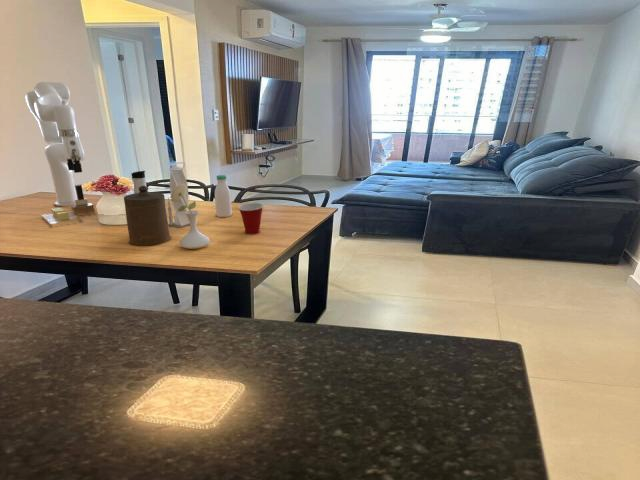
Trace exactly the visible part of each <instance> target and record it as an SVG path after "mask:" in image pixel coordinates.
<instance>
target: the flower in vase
mask: <svg viewBox="0 0 640 480" xmlns="http://www.w3.org/2000/svg"><path fill="white" fill-rule="evenodd" d="M187 186H188V185H187ZM187 186H186V185H185V186H184V184H181V186H180V185H178V186H177V187H176V189H175V190H173V194H172V195H171V194H170V197H169V199H170V201H171V202H172V201H175V202H176V201H178V200H180V199H181V198H183V199H184V197H183V196H184V195H185V193H186V190H187ZM171 198H172V199H171ZM184 201H185V199H184ZM185 204H186V201H185ZM186 207H187V211H186V212H185V214H186V215H187V216H188V218H189V221H190V225H189V232H187V233H186V234H185V235H184V236H183V237H182V238H181V239H180V240H179V244H178V245H179V246H180V247H181V248H182V249H188V250H196V249H202V248H205V247H206V246H208V245H210V242H211V240H210V238H209V237H208V236H207V235H205V234H203V233H202V232H200V231H199V230H198V228H197V216H198V214H199V213H200V212H199V210H195V208H196V207H197V203H196V201H193V202H191V203H190V204H188V205H187V204H186V206H185V205H183V206H181V207H180V208H179V209H178V211H183V210H184V209H185V208H186Z"/></svg>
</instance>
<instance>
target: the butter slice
mask: <svg viewBox="0 0 640 480" xmlns="http://www.w3.org/2000/svg"><path fill="white" fill-rule="evenodd" d="M57 217H58V220H65V219H69V215H68V212H60V213H57Z"/></svg>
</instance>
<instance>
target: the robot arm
mask: <svg viewBox="0 0 640 480" xmlns="http://www.w3.org/2000/svg"><path fill="white" fill-rule="evenodd" d="M70 101H71V90H70V88H69V87H68V86H67V84H65V83H64V82H53V81H40V82H37V83H36V84H35V86H34V89H33V90H30V91H28V92H26V93H25V102H26V104H27V107H28V108H29V111H30V113H31V114H32V115H33V116H34V118H35V120H36V121H37V123H38V126H39V129H40V132H41V136H42V138H43V140H44V142H45V143H46V144H48V145H47V146H46V147H45V148H44V155H45V158H46V160H47V163H48V165H49V169H50V174H51V178H52V183H53V187H54V191H55V196H56V201H55V202H54V206H56V207H68V206H74V205H76V203H75V200H78V199H77V194H76V189H75V185H76V181H75V177H74V173H75V174H76V173H83V168H82V163H81V162H83V161H84V160H86V159H85V158H86V153H85V150H84V147H83V144H82V141H81V138H80V135H79V132H78V129H77V123H76V115H75V114H76V113H75V110H74V108H73V106H71V105H68V104H69V102H70Z"/></svg>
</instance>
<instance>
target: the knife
mask: <svg viewBox="0 0 640 480" xmlns="http://www.w3.org/2000/svg"><path fill="white" fill-rule="evenodd" d="M75 189H76V194H77V199H78V200H75V203H76V204H75V205H76V207H77V206H84V205H88V199H87V198H85V197H84V191H83V186H82V184H75Z"/></svg>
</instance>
